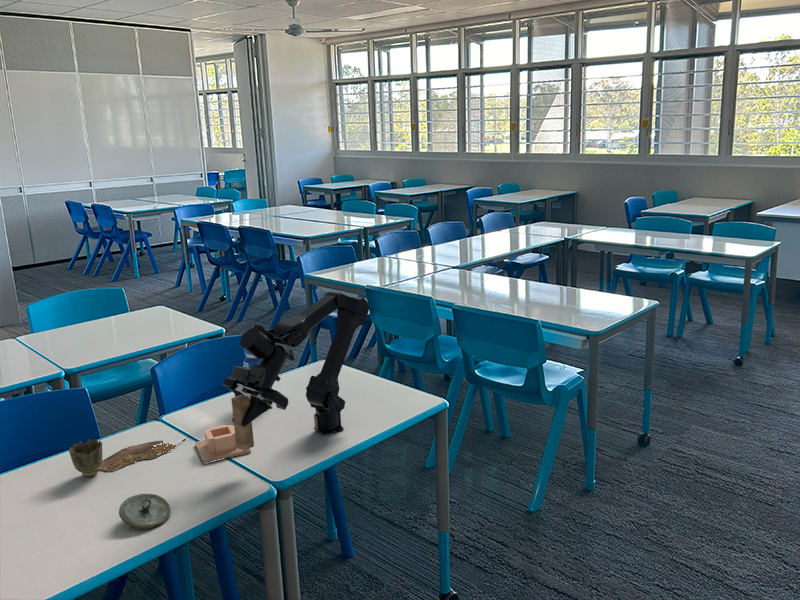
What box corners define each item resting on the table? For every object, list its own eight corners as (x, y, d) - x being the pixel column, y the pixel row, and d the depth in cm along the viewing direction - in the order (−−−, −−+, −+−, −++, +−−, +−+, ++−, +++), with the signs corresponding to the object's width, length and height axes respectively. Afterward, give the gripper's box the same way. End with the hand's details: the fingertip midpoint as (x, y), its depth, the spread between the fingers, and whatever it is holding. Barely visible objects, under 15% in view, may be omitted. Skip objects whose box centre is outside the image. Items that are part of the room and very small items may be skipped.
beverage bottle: (271, 396, 209) (266, 336, 204) (276, 406, 201) (270, 344, 196) (244, 400, 206) (238, 340, 201) (248, 411, 198) (242, 348, 193)
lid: (145, 502, 150) (142, 483, 149) (181, 510, 147) (178, 490, 145) (110, 528, 141) (107, 507, 139) (147, 537, 137) (144, 515, 136)
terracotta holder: (239, 435, 182) (238, 418, 181) (250, 452, 172) (249, 435, 171) (195, 445, 177) (193, 428, 176) (204, 464, 167) (201, 446, 166)
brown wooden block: (246, 443, 163) (241, 394, 160) (254, 446, 161) (249, 396, 158) (236, 447, 161) (231, 398, 158) (244, 450, 159) (239, 401, 156)
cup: (74, 485, 159) (69, 455, 157) (73, 472, 165) (68, 443, 163) (107, 477, 162) (103, 448, 160) (105, 465, 168) (100, 436, 166)
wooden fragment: (96, 478, 162) (96, 474, 162) (85, 462, 171) (85, 458, 171) (197, 446, 178) (197, 442, 177) (182, 432, 186) (182, 429, 186)
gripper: (225, 345, 164) (192, 401, 158) (275, 359, 153) (241, 419, 147) (252, 366, 172) (222, 420, 166) (302, 380, 161) (271, 438, 155)
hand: (238, 424), depth 159 cm, fingers closed on brown wooden block, 3 cm apart
